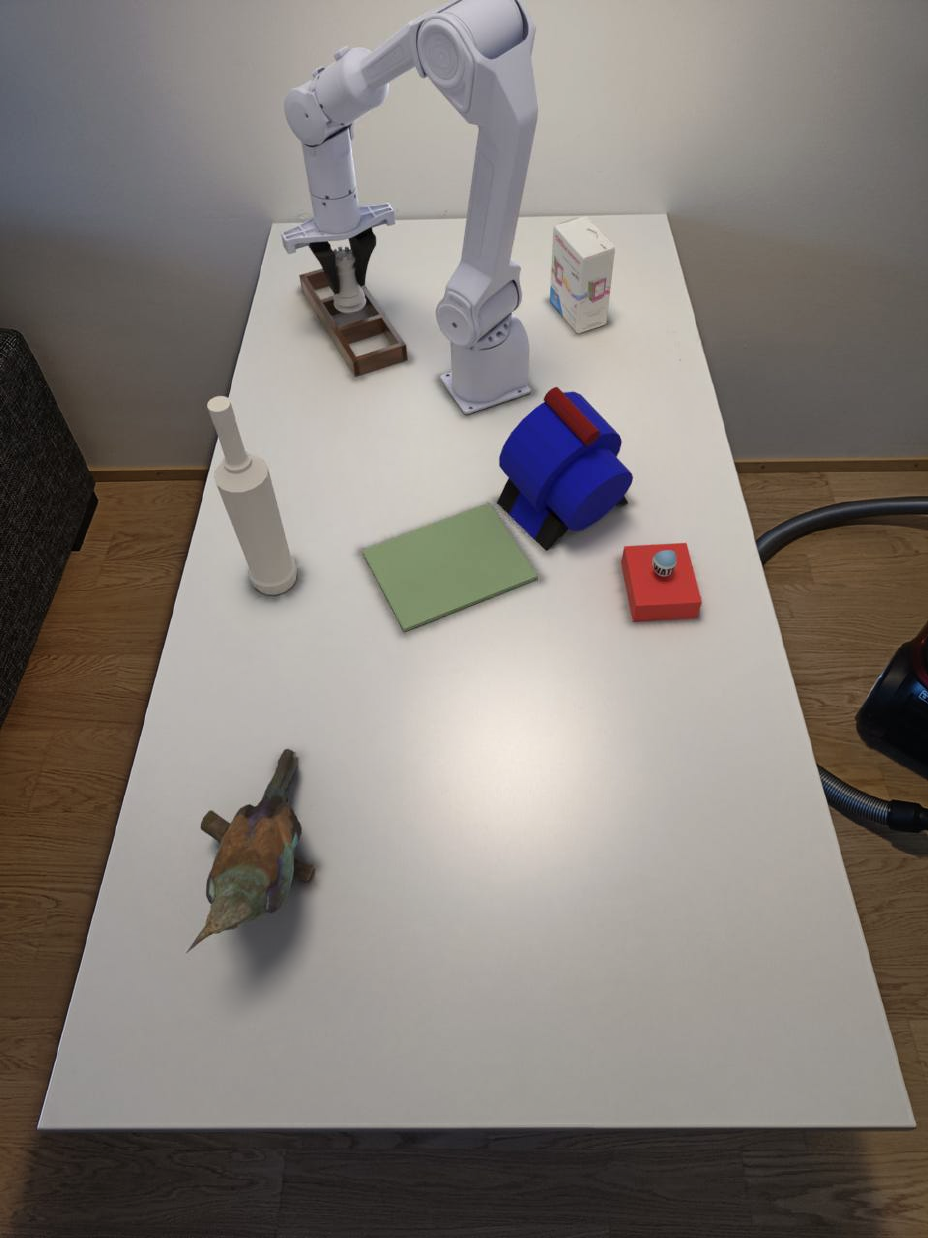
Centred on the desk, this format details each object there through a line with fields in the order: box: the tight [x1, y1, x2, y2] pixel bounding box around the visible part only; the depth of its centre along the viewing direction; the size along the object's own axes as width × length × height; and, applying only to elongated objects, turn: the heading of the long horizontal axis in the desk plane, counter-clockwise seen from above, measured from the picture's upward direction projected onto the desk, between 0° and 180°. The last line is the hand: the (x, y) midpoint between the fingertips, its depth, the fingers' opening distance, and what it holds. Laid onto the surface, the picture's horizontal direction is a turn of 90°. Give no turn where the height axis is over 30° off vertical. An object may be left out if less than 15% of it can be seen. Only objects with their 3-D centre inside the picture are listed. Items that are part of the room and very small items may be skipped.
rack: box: [298, 267, 408, 378], centre depth 122 cm, size 8×21×2 cm, turn 25°
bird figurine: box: [186, 748, 315, 954], centre depth 75 cm, size 13×10×20 cm
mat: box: [361, 502, 539, 633], centre depth 98 cm, size 16×12×1 cm
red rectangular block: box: [620, 542, 703, 622], centre depth 93 cm, size 8×7×6 cm
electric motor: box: [496, 386, 634, 551], centre depth 97 cm, size 12×12×15 cm
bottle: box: [206, 395, 298, 596], centre depth 87 cm, size 5×5×25 cm
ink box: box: [549, 215, 616, 334], centre depth 119 cm, size 9×5×12 cm, turn 25°
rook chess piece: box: [332, 246, 366, 315], centre depth 117 cm, size 4×4×8 cm
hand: (347, 285), depth 118 cm, fingers closed on rook chess piece, 3 cm apart
